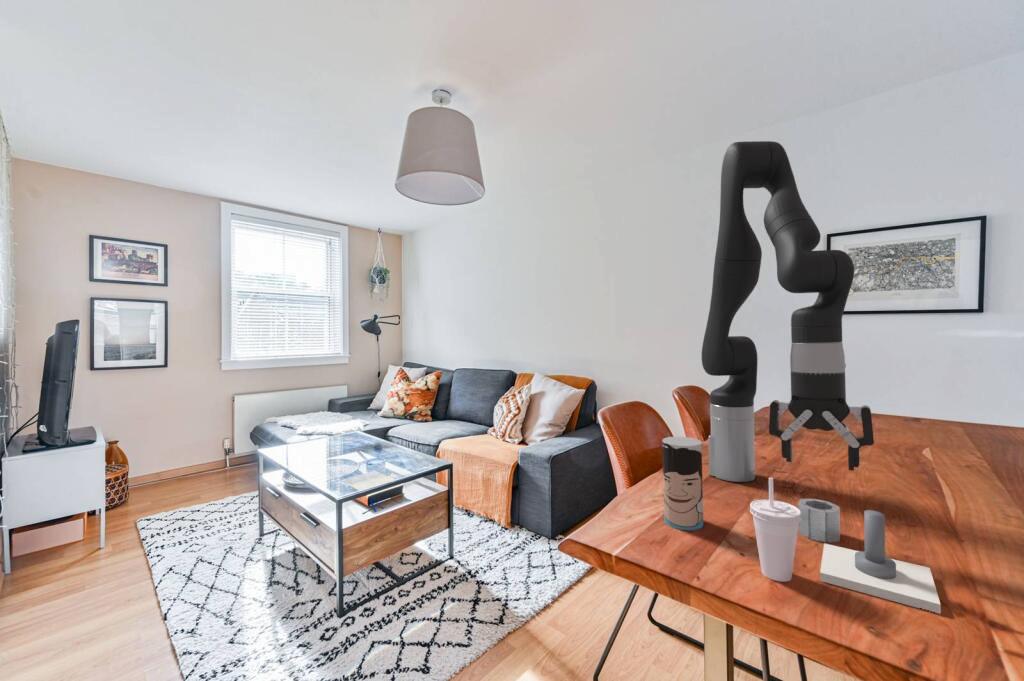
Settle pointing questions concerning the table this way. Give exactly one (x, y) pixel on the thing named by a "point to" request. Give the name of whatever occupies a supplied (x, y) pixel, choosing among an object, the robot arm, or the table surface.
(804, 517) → the ring
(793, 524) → the smoothie
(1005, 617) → the table surface
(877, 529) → the shaft block
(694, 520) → the printed cylinder can
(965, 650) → the table surface
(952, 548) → the table surface
